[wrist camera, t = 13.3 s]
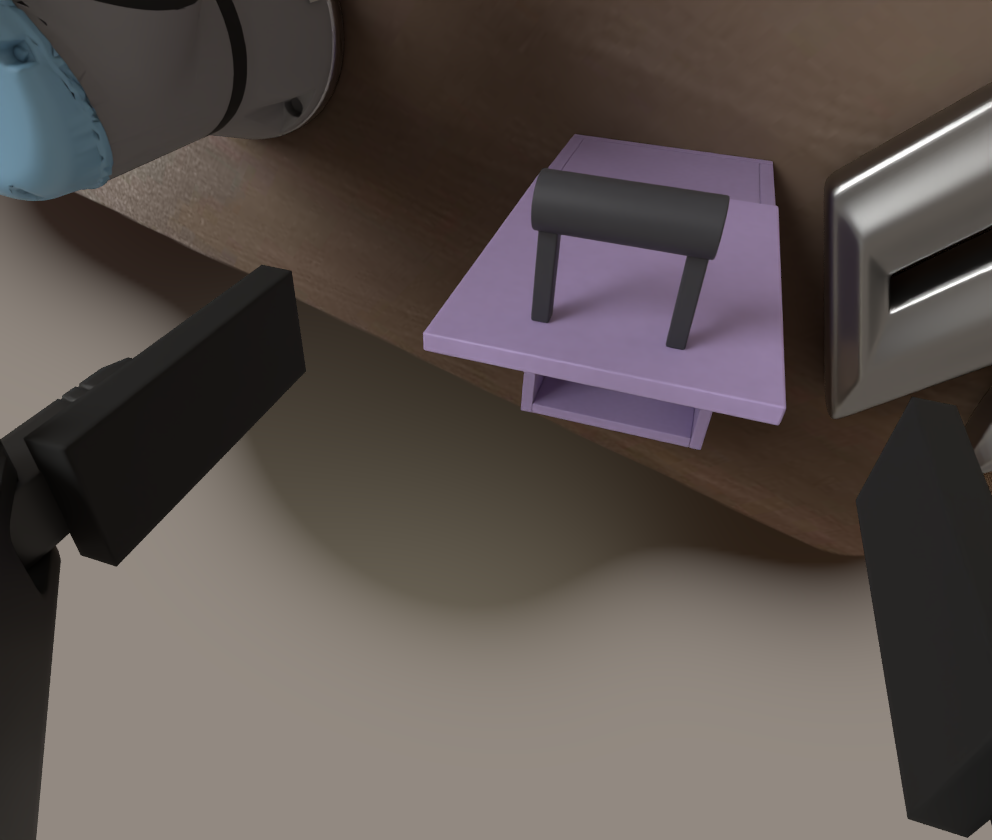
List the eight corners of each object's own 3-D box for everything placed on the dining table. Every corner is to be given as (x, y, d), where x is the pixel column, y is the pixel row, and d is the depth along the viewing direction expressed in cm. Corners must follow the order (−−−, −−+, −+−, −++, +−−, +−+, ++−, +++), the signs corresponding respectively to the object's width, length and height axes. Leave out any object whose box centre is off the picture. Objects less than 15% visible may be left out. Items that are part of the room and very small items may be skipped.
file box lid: (779, 426, 22) (852, 250, 18) (422, 351, 25) (416, 181, 21) (774, 220, 35) (816, 89, 31) (539, 184, 38) (549, 59, 34)
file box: (707, 380, 52) (700, 450, 45) (549, 348, 55) (520, 410, 48) (773, 161, 42) (776, 210, 35) (574, 133, 44) (542, 174, 38)
